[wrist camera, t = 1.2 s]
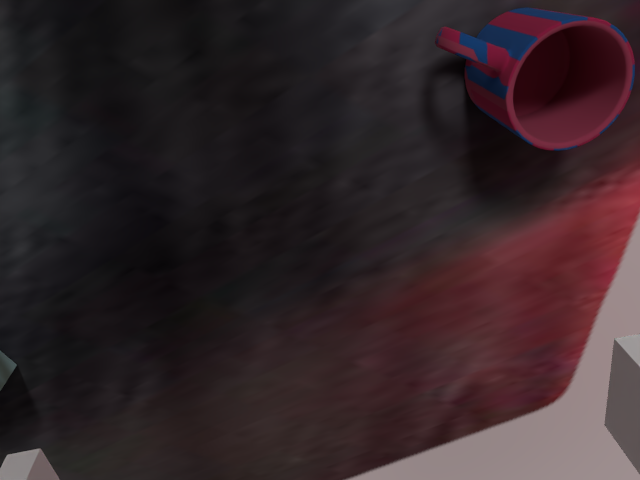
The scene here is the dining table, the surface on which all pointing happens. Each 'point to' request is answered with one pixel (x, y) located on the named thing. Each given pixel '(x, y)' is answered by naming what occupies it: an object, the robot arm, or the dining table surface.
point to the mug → (546, 74)
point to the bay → (5, 369)
